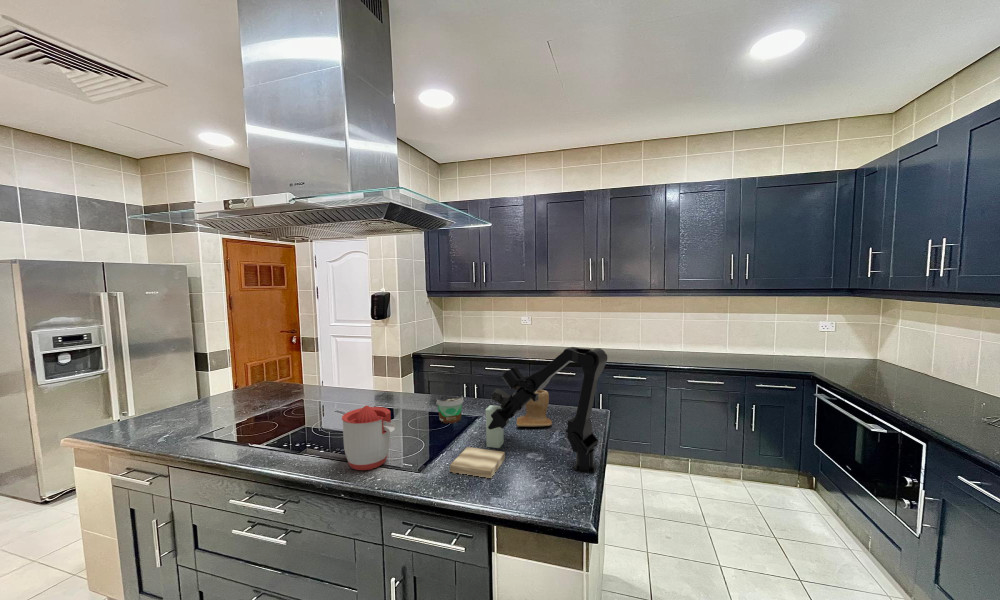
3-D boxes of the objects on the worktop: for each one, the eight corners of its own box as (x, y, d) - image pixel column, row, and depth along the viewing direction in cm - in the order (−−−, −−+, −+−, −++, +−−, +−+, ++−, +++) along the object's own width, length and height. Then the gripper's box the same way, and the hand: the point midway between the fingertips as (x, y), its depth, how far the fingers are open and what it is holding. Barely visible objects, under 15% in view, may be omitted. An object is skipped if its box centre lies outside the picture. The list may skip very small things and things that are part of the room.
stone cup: (549, 419, 169) (548, 385, 169) (553, 429, 157) (553, 393, 157) (515, 419, 169) (514, 386, 168) (516, 430, 157) (516, 394, 156)
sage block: (499, 448, 140) (498, 410, 139) (486, 446, 142) (485, 409, 141) (503, 442, 145) (502, 406, 144) (491, 441, 147) (490, 405, 146)
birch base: (491, 479, 118) (490, 471, 118) (450, 472, 123) (449, 465, 123) (504, 459, 132) (504, 452, 132) (467, 453, 136) (467, 446, 136)
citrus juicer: (383, 476, 121) (381, 414, 120) (333, 472, 124) (331, 412, 123) (404, 454, 137) (402, 399, 136) (359, 451, 139) (357, 397, 138)
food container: (440, 426, 162) (439, 403, 162) (436, 421, 168) (436, 399, 168) (467, 421, 167) (467, 399, 167) (463, 417, 173) (462, 395, 173)
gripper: (511, 376, 150) (485, 402, 154) (495, 389, 132) (467, 417, 136) (531, 398, 148) (504, 423, 152) (518, 414, 130) (488, 442, 134)
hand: (491, 425), depth 143 cm, fingers closed on sage block, 5 cm apart
